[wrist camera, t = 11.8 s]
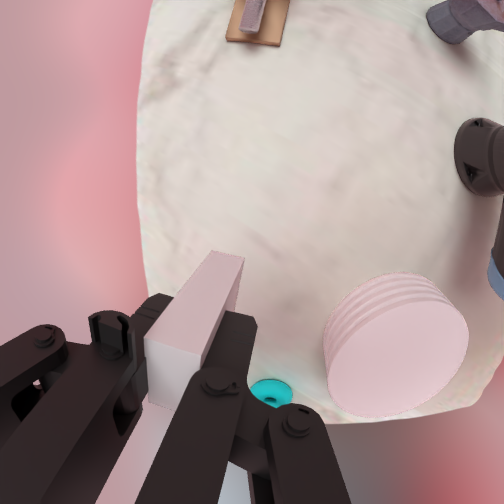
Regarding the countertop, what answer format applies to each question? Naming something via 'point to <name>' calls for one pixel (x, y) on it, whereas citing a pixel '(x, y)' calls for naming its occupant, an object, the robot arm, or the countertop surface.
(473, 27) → the moka pot
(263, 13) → the pipe rig
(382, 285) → the plate stack
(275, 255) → the countertop surface
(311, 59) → the countertop surface
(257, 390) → the donuts
